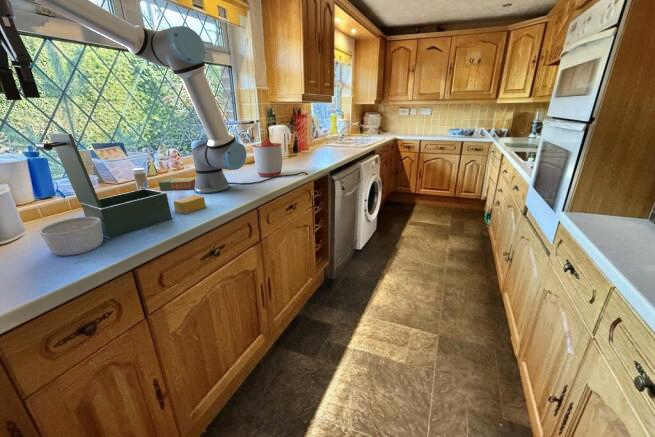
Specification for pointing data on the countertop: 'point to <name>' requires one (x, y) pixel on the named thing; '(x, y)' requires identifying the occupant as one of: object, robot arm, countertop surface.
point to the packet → (189, 204)
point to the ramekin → (73, 235)
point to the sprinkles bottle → (140, 178)
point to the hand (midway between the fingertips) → (23, 99)
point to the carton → (177, 183)
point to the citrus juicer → (268, 158)
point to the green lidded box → (130, 211)
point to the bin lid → (73, 167)
